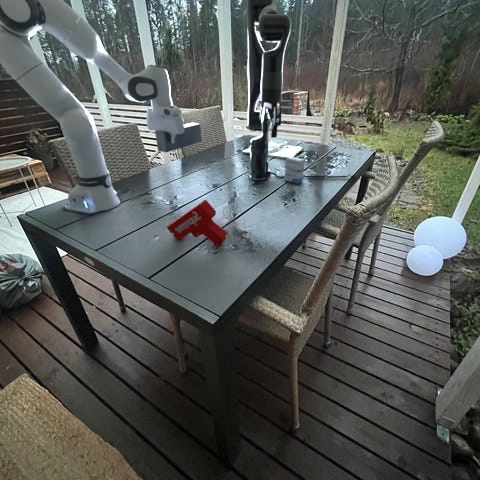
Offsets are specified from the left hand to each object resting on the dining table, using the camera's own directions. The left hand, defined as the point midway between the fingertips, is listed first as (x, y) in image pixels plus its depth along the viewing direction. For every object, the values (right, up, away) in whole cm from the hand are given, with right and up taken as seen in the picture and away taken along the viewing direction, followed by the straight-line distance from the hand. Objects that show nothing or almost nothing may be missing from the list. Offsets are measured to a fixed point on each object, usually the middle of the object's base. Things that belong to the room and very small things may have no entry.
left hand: (167, 142), depth 126 cm
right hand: (+45, -5, -21) cm, 50 cm away
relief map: (+58, +18, +68) cm, 91 cm away
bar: (+5, +1, +8) cm, 9 cm away
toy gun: (+19, -46, -30) cm, 58 cm away
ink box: (+62, -14, +18) cm, 66 cm away
